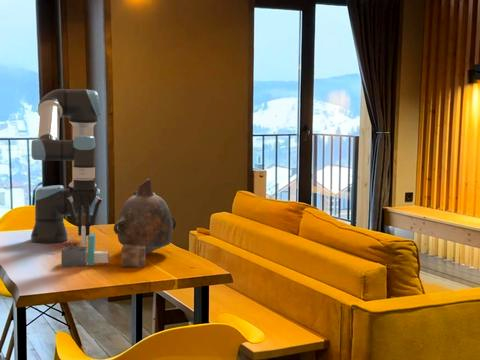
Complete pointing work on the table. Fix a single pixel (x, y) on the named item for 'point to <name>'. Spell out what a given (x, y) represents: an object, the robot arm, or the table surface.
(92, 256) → the bolt
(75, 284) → the table surface
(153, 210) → the jug
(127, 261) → the socket
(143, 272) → the table surface
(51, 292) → the table surface
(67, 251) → the sleeve
